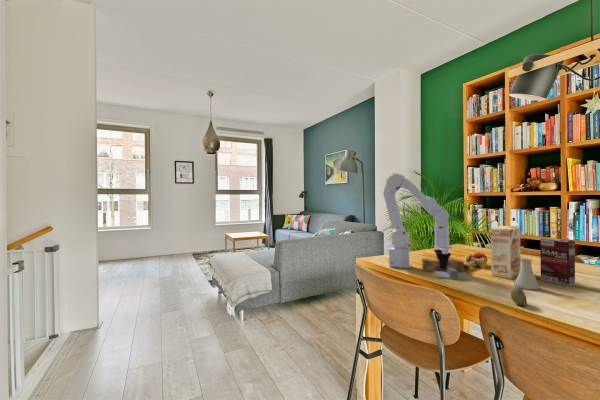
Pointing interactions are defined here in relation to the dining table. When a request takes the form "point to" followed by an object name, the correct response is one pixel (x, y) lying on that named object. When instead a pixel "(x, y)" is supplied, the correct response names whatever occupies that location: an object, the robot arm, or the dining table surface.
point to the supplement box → (557, 261)
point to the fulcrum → (451, 274)
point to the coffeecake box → (505, 251)
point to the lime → (519, 296)
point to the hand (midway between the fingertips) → (442, 267)
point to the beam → (435, 265)
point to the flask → (526, 276)
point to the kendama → (475, 261)
